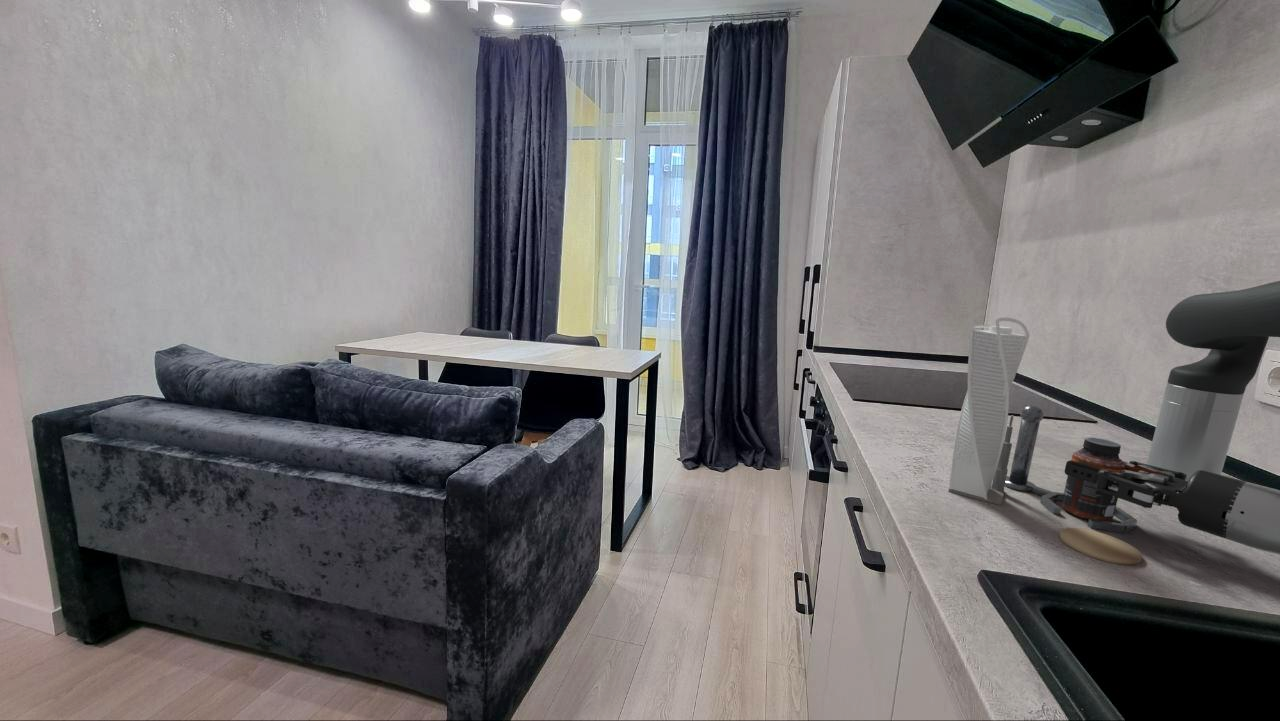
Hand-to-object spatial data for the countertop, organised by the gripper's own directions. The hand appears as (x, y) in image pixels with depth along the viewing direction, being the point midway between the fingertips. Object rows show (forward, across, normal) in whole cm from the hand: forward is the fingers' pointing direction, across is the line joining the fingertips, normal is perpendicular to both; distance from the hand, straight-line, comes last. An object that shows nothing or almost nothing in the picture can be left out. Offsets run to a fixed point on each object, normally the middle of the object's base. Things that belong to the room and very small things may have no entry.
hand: (1076, 463), depth 78 cm
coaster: (-7, +11, +7) cm, 15 cm away
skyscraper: (+10, +8, +7) cm, 15 cm away
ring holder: (+1, 0, +7) cm, 7 cm away
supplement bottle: (-2, 0, +7) cm, 8 cm away
